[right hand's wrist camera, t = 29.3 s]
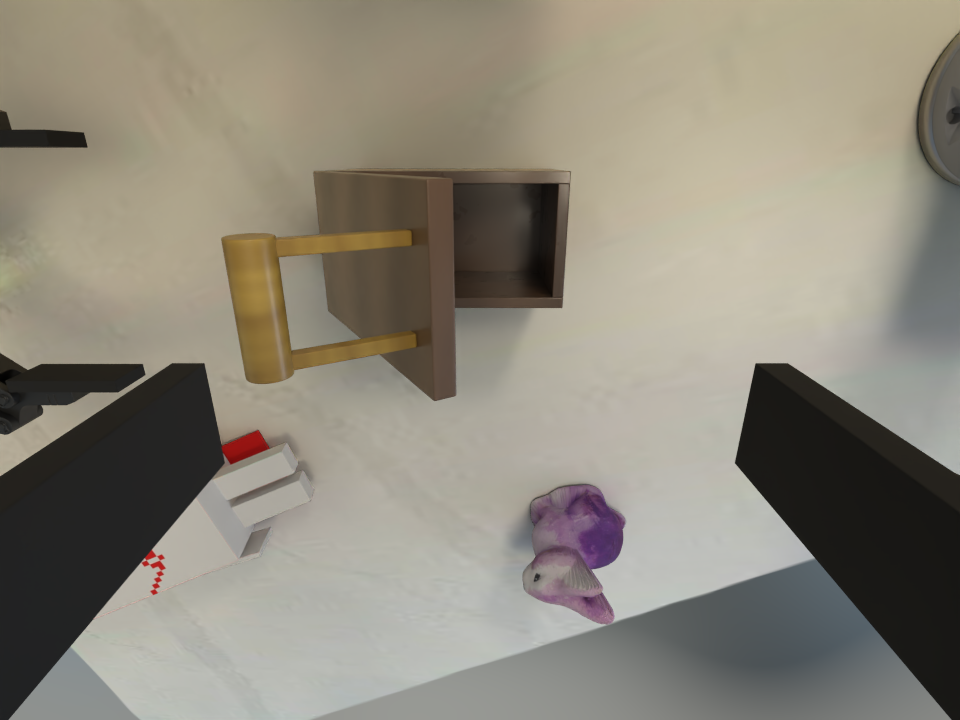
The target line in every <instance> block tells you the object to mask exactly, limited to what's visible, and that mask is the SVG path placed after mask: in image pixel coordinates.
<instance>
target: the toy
mask: <svg viewBox="0 0 960 720" xmlns="http://www.w3.org/2000/svg"><path fill="white" fill-rule="evenodd" d="M222 451H223V456H224V460H225V464H224V465H223V466H222V467H221V468H220V470H219V471H218V472H217V473H216V474H215V476H214V477H213V478H212V479H211V480H210V481H209V483H208V484H207V485H206V486H205V487H204V489H203V490H202V491H201V492H200V493H199V495H198V496H197V497H196V498H195V499H194V500H193V502H192V503H191V504H190V505H189V506H188V508H187V509H186V510H185V511H184V512H183V513H182V515H181V516H180V517H179V518H178V519H177V521H176V522H175V523H174V524H173V525H172V527H171V528H170V529H169V530H168V531H167V532H166V534H165V535H164V536H163V537H162V538H161V540H160V541H159V542H158V543H157V544H156V545H155V547H154V548H153V549H152V550H151V551H150V553H149V554H148V555H147V556H146V557H145V558H144V560H143V561H142V562H141V563H140V564H139V566H138V567H137V568H136V569H135V570H134V572H133V573H132V574H131V575H130V576H129V577H128V579H127V580H126V581H125V582H124V583H123V585H122V586H121V587H120V588H119V589H118V590H117V592H116V593H115V594H114V595H113V596H112V598H111V599H110V600H109V601H108V602H107V604H106V605H105V606H104V607H103V608H102V609H101V611H100V612H99V613H98V614H97V615H96V617H95V618H94V619H96V618H98V617H101V616H103V615H105V614H108V613H110V612H113V611H115V610H118V609H120V608H123V607H125V606H127V605H130V604H132V603H135V602H137V601H140V600H142V599H145V598H147V597H149V596H152V595H154V594H157V593H159V592H162V591H164V590H167V589H169V588H171V587H174V586H176V585H179V584H181V583H184V582H186V581H189V580H191V579H193V578H196V577H198V576H201V575H203V574H206V573H210V572H213V571H216V570H219V569H222V568H226V567H229V566H232V565H235V564H238V563H242V562H245V561H248V560H251V559H254V558H258V557H261V555H262V553H263V551H264V549H265V546H266V544H267V542H268V540H269V538H270V536H271V534H272V531H273V530H272V529H271V527H269V528H266V529H263V530H260V531H256V532H253V533H252V531H253V528H254V526H255V524H256V523H258V522H260V521H263V520H265V519H268V518H270V517H272V516H275V515H277V514H280V513H282V512H285V511H287V510H290V509H292V508H294V507H297V506H299V505H302V504H304V503H307V502H309V501H311V499H312V496H313V493H314V488H313V486H312V485H311V483H310V481H309V479H308V478H307V476H306V474H305V473H304V471H303V470H301V471H299V472H297V473H295V470H296V468H297V465H298V463H299V462H298V461H297V459H296V457H295V456H294V454H293V452H292V450H291V449H290V447H289V445H288V444H287V442H285V443H283V444H280V445H278V446H275V447H273V448H269V446H268V445H267V443H266V442H265V440H264V439H263V437H262V435H261V434H260V432H259V431H258V430H257V431H255V432H253V433H250V434H248V435H246V436H244V437H241V438H239V439H237V440H235V441H232V442H230V443H228V444H226V445H223V446H222ZM293 473H294V474H293ZM291 474H292V475H291ZM288 475H289V476H288Z"/></svg>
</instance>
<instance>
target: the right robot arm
mask: <svg viewBox="0 0 960 720" xmlns="http://www.w3.org/2000/svg"><path fill="white" fill-rule="evenodd" d="M919 137H920V142H921V146H922V149H923V152H924V155H925V157H926V159H927V160H928V162H929V163H930V165H931V166H932V168H933V169H934V170H935V171H936V172H937V173H938V174H939V175H940V176H942V177H943V178H945V179H946V180H948V181H950V182H952V183H954V184H957V185H960V33H959V34H958V35H957V36H956V37H955V38H954V40H953V41H952V42H951V43H950V44H949V46H948V47H947V48H946V50H945V51H944V52H943V54H942V55H941V57H940V58H939V60H938V62H937V63H936V65H935V67H934V69H933V71H932V73H931V75H930V77H929V79H928V82H927V84H926V87H925V90H924V93H923V96H922V100H921V105H920V110H919ZM224 464H225V460H224V456H223V451H222V446H221V441H220V436H219V432H218V427H217V422H216V417H215V412H214V408H213V403H212V398H211V393H210V388H209V383H208V379H207V374H206V369H205V364H204V363H172V364H171V365H169V366H168V367H166V368H164V369H163V370H161V371H160V372H158V373H157V374H155V375H154V376H152V377H151V378H149V379H148V380H146V381H145V382H143V383H142V384H140V385H139V386H137V387H136V388H134V389H133V390H131V391H129V392H128V393H126V394H125V395H123V396H122V397H120V398H119V399H117V400H116V401H114V402H113V403H111V404H110V405H108V406H107V407H105V408H104V409H102V410H101V411H99V412H98V413H96V414H95V415H93V416H91V417H90V418H88V419H87V420H85V421H84V422H82V423H81V424H79V425H78V426H76V427H75V428H73V429H72V430H70V431H69V432H67V433H66V434H64V435H63V436H61V437H60V438H58V439H56V440H55V441H53V442H52V443H50V444H49V445H47V446H46V447H44V448H43V449H41V450H40V451H38V452H37V453H35V454H34V455H32V456H31V457H29V458H28V459H26V460H25V461H23V462H21V463H20V464H18V465H17V466H15V467H14V468H12V469H11V470H9V471H8V472H6V473H5V474H3V475H2V476H0V720H9V718H10V717H11V716H12V715H13V714H14V712H15V711H16V710H17V709H18V708H19V706H20V705H21V704H22V703H23V702H24V701H25V699H26V698H27V697H28V696H29V695H30V694H31V692H32V691H33V690H34V689H35V688H36V686H37V685H38V684H39V683H40V682H41V680H42V679H43V678H44V677H45V676H46V675H47V673H48V672H49V671H50V670H51V669H52V667H53V666H54V665H55V664H56V663H57V662H58V660H59V659H60V658H61V657H62V656H63V654H64V653H65V652H66V651H67V650H68V648H69V647H70V646H71V645H72V644H73V643H74V641H75V640H76V639H77V638H78V637H79V635H80V634H81V633H82V632H83V631H84V630H85V628H86V627H87V626H88V625H89V624H90V622H91V621H92V620H93V619H94V618H95V617H96V615H97V614H98V613H99V612H100V611H101V609H102V608H103V607H104V606H105V605H106V604H107V602H108V601H109V600H110V599H111V598H112V596H113V595H114V594H115V593H116V592H117V590H118V589H119V588H120V587H121V586H122V585H123V583H124V582H125V581H126V580H127V579H128V577H129V576H130V575H131V574H132V573H133V572H134V570H135V569H136V568H137V567H138V566H139V564H140V563H141V562H142V561H143V560H144V558H145V557H146V556H147V555H148V554H149V553H150V551H151V550H152V549H153V548H154V547H155V545H156V544H157V543H158V542H159V541H160V540H161V538H162V537H163V536H164V535H165V534H166V532H167V531H168V530H169V529H170V528H171V527H172V525H173V524H174V523H175V522H176V521H177V519H178V518H179V517H180V516H181V515H182V513H183V512H184V511H185V510H186V509H187V508H188V506H189V505H190V504H191V503H192V502H193V500H194V499H195V498H196V497H197V496H198V495H199V493H200V492H201V491H202V490H203V489H204V487H205V486H206V485H207V484H208V483H209V481H210V480H211V479H212V478H213V477H214V476H215V474H216V473H217V472H218V471H219V470H220V468H221V467H222V466H223V465H224ZM735 464H736V465H737V466H738V467H739V468H740V470H741V471H742V472H743V473H744V474H745V476H746V477H747V478H748V479H749V480H750V482H751V483H752V484H753V485H754V486H755V487H756V489H757V490H758V491H759V492H760V493H761V495H762V496H763V497H764V498H765V499H766V500H767V502H768V503H769V504H770V505H771V506H772V508H773V509H774V510H775V511H776V512H777V513H778V515H779V516H780V517H781V518H782V519H783V521H784V522H785V523H786V524H787V525H788V527H789V528H790V529H791V530H792V531H793V532H794V534H795V535H796V536H797V537H798V538H799V540H800V541H801V542H802V543H803V544H804V545H805V547H806V548H807V549H808V550H809V551H810V553H811V554H812V555H813V556H814V557H815V558H816V560H817V561H818V562H819V563H820V564H821V566H822V567H823V568H824V569H825V570H826V572H827V573H828V574H829V575H830V576H831V577H832V579H833V580H834V581H835V582H836V583H837V585H838V586H839V587H840V588H841V589H842V590H843V592H844V593H845V594H846V595H847V596H848V598H849V599H850V600H851V601H852V602H853V603H854V605H855V606H856V607H857V608H858V609H859V611H860V612H861V613H862V614H863V615H864V616H865V618H866V619H867V620H868V621H869V622H870V624H871V625H872V626H873V627H874V628H875V630H876V631H877V632H878V633H879V634H880V635H881V637H882V638H883V639H884V640H885V641H886V643H887V644H888V645H889V646H890V647H891V649H892V650H893V651H894V652H895V653H896V654H897V656H898V657H899V658H900V659H901V660H902V662H903V663H904V664H905V665H906V666H907V667H908V669H909V670H910V671H911V672H912V673H913V675H914V676H915V677H916V678H917V679H918V680H919V682H920V683H921V684H922V685H923V686H924V688H925V689H926V690H927V691H928V692H929V694H930V695H931V696H932V697H933V698H934V699H935V701H936V702H937V703H938V704H939V705H940V707H941V708H942V709H943V710H944V711H945V712H946V714H947V715H948V716H949V717H950V718H951V720H960V475H958V474H956V473H954V472H952V471H951V470H949V469H948V468H946V467H945V466H943V465H942V464H940V463H939V462H937V461H935V460H934V459H932V458H931V457H929V456H928V455H926V454H925V453H923V452H922V451H920V450H919V449H917V448H916V447H914V446H913V445H911V444H910V443H908V442H907V441H905V440H904V439H902V438H900V437H899V436H897V435H896V434H894V433H893V432H891V431H890V430H888V429H887V428H885V427H884V426H882V425H881V424H879V423H878V422H876V421H875V420H873V419H872V418H870V417H869V416H867V415H865V414H864V413H862V412H861V411H859V410H858V409H856V408H855V407H853V406H852V405H850V404H849V403H847V402H846V401H844V400H843V399H841V398H840V397H838V396H837V395H835V394H834V393H832V392H831V391H829V390H827V389H826V388H824V387H823V386H821V385H820V384H818V383H817V382H815V381H814V380H812V379H811V378H809V377H808V376H806V375H805V374H803V373H802V372H800V371H799V370H797V369H796V368H794V367H792V366H791V365H789V364H788V363H756V364H755V369H754V374H753V379H752V383H751V388H750V393H749V398H748V403H747V408H746V412H745V417H744V422H743V427H742V432H741V436H740V441H739V446H738V451H737V456H736V460H735Z"/></svg>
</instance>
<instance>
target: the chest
mask: <svg viewBox="0 0 960 720" xmlns="http://www.w3.org/2000/svg"><path fill="white" fill-rule="evenodd" d="M332 171H337V172H354V173H371V174H388V175H404V176H421V177H438V178H451V179H452V180H453V228H454V289H455V308H562V306H563V289H564V273H565V256H566V240H567V224H568V207H569V191H570V176H571V172H570V171H563V170H554V169H348V170H332Z"/></svg>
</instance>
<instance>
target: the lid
mask: <svg viewBox="0 0 960 720" xmlns="http://www.w3.org/2000/svg"><path fill="white" fill-rule="evenodd" d="M313 174H314V184H315V193H316V202H317V211H318V221H319V230H320V235H307V236H292V237H277V238H276V237H275V235H273V234H265V233H249V234H236V235H229V236H225V237H222V238H221V241H222V246H223V252H224V258H225V263H226V269H227V275H228V280H229V286H230V291H231V297H232V303H233V308H234V314H235V320H236V325H237V331H238V337H239V342H240V348H241V354H242V359H243V365H244V371H245V376H246V379H247V381H249V382H251V383H255V384H269V383H275V382H280V381H283V380H285V379H288V378H290V377H291V376H292V375H293V374H294V370H297V369H303V368H308V367H313V366H319V365H324V364H330V363H335V362H340V361H346V360H351V359H356V358H362V357H367V356H372V355H378V354H379V355H381V356H382V357H383V358H384V359H385V360H387V361H388V362H389V363H390V364H391V365H392V366H394V367H395V368H396V369H397V370H398V371H399V372H401V373H402V374H403V375H404V376H405V377H406V378H408V379H409V380H410V381H411V382H412V383H414V384H415V385H416V386H417V387H418V388H419V389H421V390H422V391H423V392H424V393H425V394H426V395H428V396H429V397H430V398H431V399H432V400H433V401H437V400H441V399H445V398H449V397H454V396H456V349H455V289H454V228H453V180H452V179H451V178H438V177H421V176H404V175H388V174H371V173H354V172H337V171H314V172H313ZM310 254H322V257H323V267H324V276H325V285H326V294H327V304H328V311H329V312H330V313H331V314H333V315H334V316H335V317H336V318H337V319H338V320H340V321H341V322H342V323H343V324H344V325H345V326H347V327H348V328H349V329H350V330H351V331H353V332H354V333H355V334H356V335H357V336H358V337H360V338H361V339H358V340H352V341H346V342H340V343H334V344H328V345H322V346H316V347H310V348H304V349H298V350H293V351H291V344H290V337H289V330H288V323H287V315H286V308H285V301H284V294H283V287H282V280H281V272H280V265H279V258H278V257H286V256H298V255H310Z"/></svg>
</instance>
